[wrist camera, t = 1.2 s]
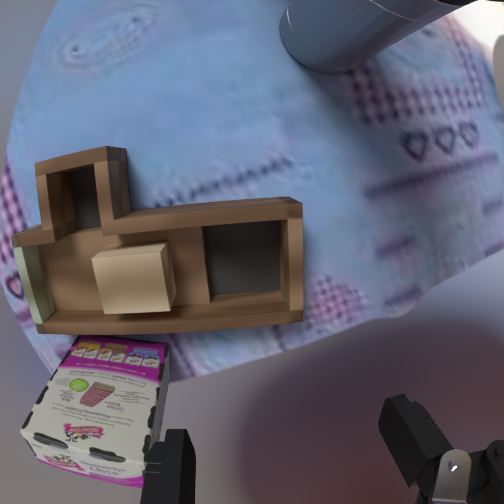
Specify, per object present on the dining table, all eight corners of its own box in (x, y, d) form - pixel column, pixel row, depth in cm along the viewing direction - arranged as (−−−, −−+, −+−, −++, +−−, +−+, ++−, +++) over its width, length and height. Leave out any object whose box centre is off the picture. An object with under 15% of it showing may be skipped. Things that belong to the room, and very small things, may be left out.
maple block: (107, 245, 26) (91, 258, 22) (169, 239, 26) (160, 252, 22) (118, 295, 27) (104, 313, 23) (176, 291, 27) (170, 311, 24)
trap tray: (29, 170, 24) (2, 173, 20) (285, 133, 26) (298, 127, 21) (57, 312, 29) (38, 333, 24) (291, 297, 31) (303, 321, 26)
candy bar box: (87, 364, 31) (37, 462, 16) (80, 330, 30) (15, 428, 14) (172, 376, 33) (154, 493, 17) (171, 342, 31) (144, 464, 16)
